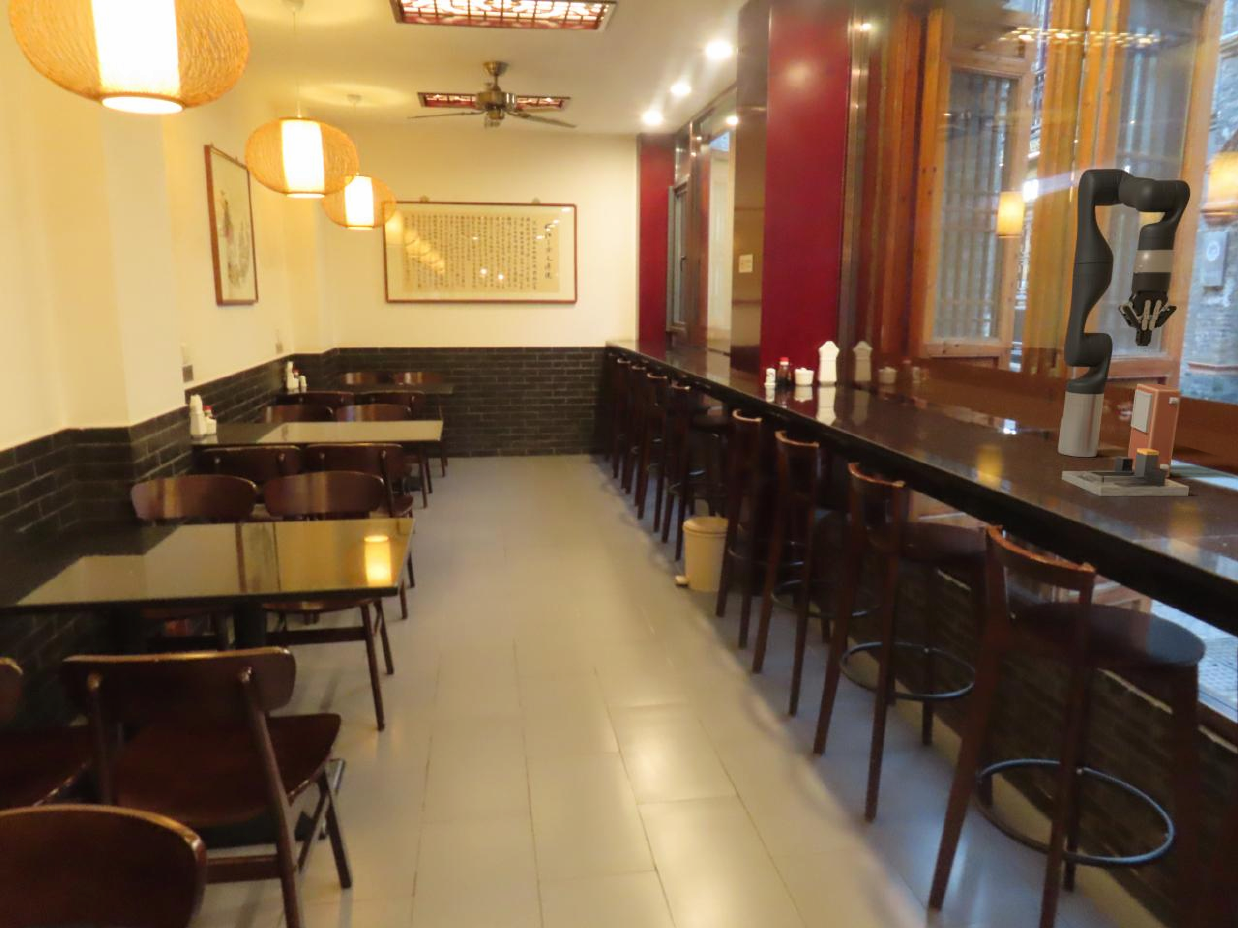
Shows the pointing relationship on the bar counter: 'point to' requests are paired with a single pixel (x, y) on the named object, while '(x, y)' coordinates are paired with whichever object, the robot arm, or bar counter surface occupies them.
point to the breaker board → (1126, 481)
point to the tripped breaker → (1145, 461)
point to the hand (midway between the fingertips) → (1142, 346)
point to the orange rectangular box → (1154, 422)
